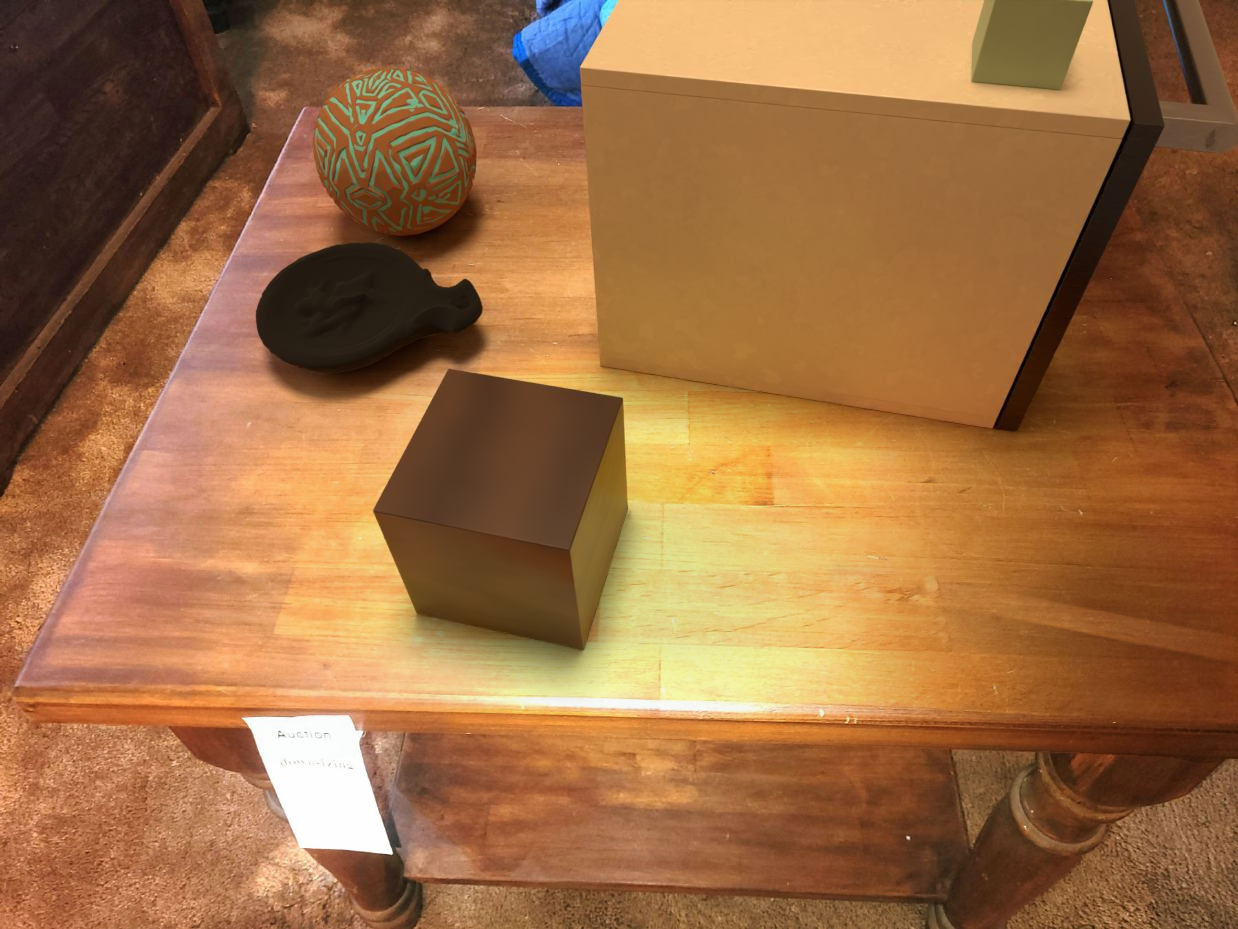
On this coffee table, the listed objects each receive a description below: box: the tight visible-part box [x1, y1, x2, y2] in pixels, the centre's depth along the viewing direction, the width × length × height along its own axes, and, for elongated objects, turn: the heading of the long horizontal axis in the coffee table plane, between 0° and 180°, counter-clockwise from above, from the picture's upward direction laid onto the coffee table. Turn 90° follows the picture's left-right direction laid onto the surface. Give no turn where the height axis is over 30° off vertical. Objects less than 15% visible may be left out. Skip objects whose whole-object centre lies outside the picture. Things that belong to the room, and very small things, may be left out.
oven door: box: [995, 0, 1238, 432], centre depth 70 cm, size 8×40×26 cm, turn 165°
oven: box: [579, 0, 1131, 429], centre depth 74 cm, size 32×40×26 cm
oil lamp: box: [255, 241, 484, 374], centre depth 76 cm, size 15×20×5 cm
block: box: [971, 0, 1093, 90], centre depth 51 cm, size 5×5×5 cm
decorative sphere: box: [312, 66, 478, 236], centre depth 83 cm, size 15×15×15 cm
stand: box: [372, 368, 629, 651], centre depth 58 cm, size 12×12×12 cm
